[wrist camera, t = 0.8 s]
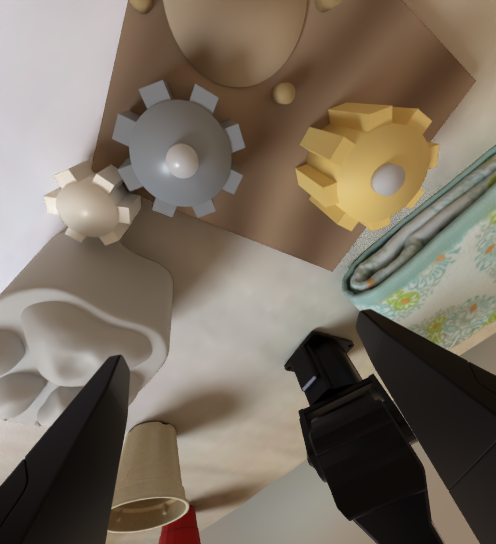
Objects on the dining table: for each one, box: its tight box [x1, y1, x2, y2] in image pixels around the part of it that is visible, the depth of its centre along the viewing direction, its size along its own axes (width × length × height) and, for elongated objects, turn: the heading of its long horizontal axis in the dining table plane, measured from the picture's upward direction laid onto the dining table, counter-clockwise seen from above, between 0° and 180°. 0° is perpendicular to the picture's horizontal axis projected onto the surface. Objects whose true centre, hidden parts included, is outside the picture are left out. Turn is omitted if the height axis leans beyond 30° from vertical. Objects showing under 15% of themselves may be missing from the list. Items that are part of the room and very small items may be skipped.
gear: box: [112, 80, 245, 218], centre depth 15 cm, size 7×7×4 cm
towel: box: [342, 145, 496, 350], centre depth 26 cm, size 18×21×5 cm
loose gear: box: [295, 102, 439, 231], centre depth 16 cm, size 7×7×6 cm
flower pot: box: [107, 422, 189, 533], centre depth 32 cm, size 9×9×9 cm
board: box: [91, 0, 476, 271], centre depth 17 cm, size 20×16×3 cm
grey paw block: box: [0, 230, 173, 427], centre depth 19 cm, size 10×13×9 cm
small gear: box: [44, 160, 141, 246], centre depth 16 cm, size 4×4×3 cm
